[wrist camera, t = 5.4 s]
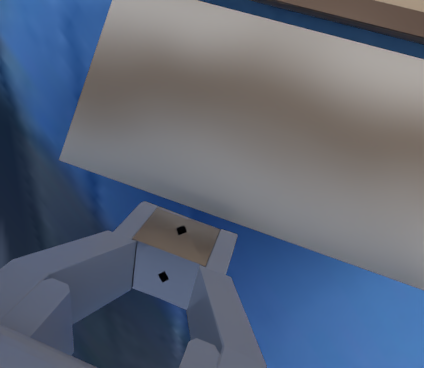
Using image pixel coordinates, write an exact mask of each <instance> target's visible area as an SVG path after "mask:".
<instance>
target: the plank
mask: <svg viewBox="0 0 424 368" xmlns="http://www.w3.org/2000/svg"><path fill="white" fill-rule="evenodd" d="M59 160H60V161H62V162H65V163H68V164H71V165H74V166H76V167H79V168H82V169H85V170H88V171H90V172H93V173H96V174H99V175H102V176H104V177H107V178H110V179H113V180H116V181H119V182H121V183H124V184H127V185H130V186H133V187H135V188H138V189H141V190H144V191H147V192H149V193H152V194H155V195H158V196H161V197H163V198H166V199H169V200H172V201H175V202H177V203H180V204H183V205H186V206H189V207H191V208H194V209H197V210H200V211H203V212H206V213H208V214H211V215H214V216H217V217H220V218H222V219H225V220H228V221H231V222H234V223H236V224H239V225H242V226H245V227H248V228H250V229H253V230H256V231H259V232H262V233H264V234H267V235H270V236H273V237H276V238H278V239H281V240H284V241H287V242H290V243H293V244H295V245H298V246H301V247H304V248H307V249H309V250H312V251H315V252H318V253H321V254H323V255H326V256H329V257H332V258H335V259H337V260H340V261H343V262H346V263H349V264H351V265H354V266H357V267H360V268H363V269H365V270H368V271H371V272H374V273H377V274H380V275H382V276H385V277H388V278H391V279H394V280H396V281H399V282H402V283H405V284H408V285H410V286H413V287H416V288H419V289H422V290H424V59H421V58H417V57H413V56H409V55H405V54H401V53H398V52H394V51H390V50H386V49H382V48H378V47H375V46H371V45H367V44H363V43H359V42H355V41H351V40H348V39H344V38H340V37H336V36H332V35H328V34H325V33H321V32H317V31H313V30H309V29H305V28H302V27H298V26H294V25H290V24H286V23H282V22H278V21H275V20H271V19H267V18H263V17H259V16H255V15H252V14H248V13H244V12H240V11H236V10H232V9H229V8H225V7H221V6H217V5H213V4H209V3H206V2H202V1H198V0H112V3H111V6H110V9H109V12H108V15H107V18H106V21H105V24H104V27H103V30H102V33H101V35H100V38H99V41H98V44H97V47H96V50H95V53H94V56H93V59H92V62H91V65H90V68H89V71H88V74H87V77H86V80H85V83H84V86H83V89H82V92H81V95H80V98H79V101H78V104H77V107H76V110H75V113H74V116H73V119H72V122H71V125H70V128H69V131H68V134H67V137H66V140H65V143H64V146H63V149H62V152H61V155H60V158H59Z"/></svg>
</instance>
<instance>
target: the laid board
mask: <svg viewBox="0 0 424 368" xmlns="http://www.w3.org/2000/svg"><path fill="white" fill-rule="evenodd" d="M251 1H254V2H258V3H262V4H266V5H270V6H274V7H278V8H282V9H286V10H290V11H294V12H298V13H302V14H306V15H310V16H314V17H317V18H321V19H325V20H329V21H333V22H337V23H341V24H345V25H349V26H353V27H357V28H361V29H365V30H369V31H373V32H376V33H380V34H384V35H388V36H392V37H396V38H400V39H404V40H408V41H412V42H416V43H420V44H424V0H251Z"/></svg>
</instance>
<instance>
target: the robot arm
mask: <svg viewBox="0 0 424 368" xmlns="http://www.w3.org/2000/svg"><path fill="white" fill-rule="evenodd" d="M237 237H238V236H237V234H235V233H232V232H229V231H226V230H223V229H219V228H216V227H213V226H210V225H208V224H205V223H202V222H199V221H196V220H193V219H191V218H188V217H186V216H183V215H180V214H178V213H175V212H173V211H170V210H167V209H165V208H162V207H159V206H156V205H154V204H151V203H149V202H146V201H144V202H141V203H140V204H139V205H138V206H137V207H136V208H135V209H134V210H133V211H132V212H131V213H130V214H129V215H128V217H127V218H126V219H125V220H124V221H123V222H122V223H121V224H120V225H119V226H118V227H117V228H116V229H115V230H114V231H113V232H111V231H104V232H101V233H98V234H95V235H91V236H88V237H85V238H81V239H78V240H75V241H72V242H68V243H65V244H62V245H59V246H55V247H52V248H49V249H45V250H42V251H39V252H36V253H32V254H29V255H26V256H23V257H19V258H16V259H13V260H11V261H10V262H9V263H8V264H6V265H5V266H4V267H2V268H1V269H0V368H97V367H95V366H93V365H91V364H88V363H86V362H84V361H82V360H80V359H77V358H75V357H73V356H71V355H72V354H73V352H74V344H73V329H72V325H73V324H74V323H76V322H78V321H79V320H81V319H83V318H84V317H86V316H88V315H90V314H91V313H93V312H95V311H96V310H98V309H100V308H101V307H103V306H105V305H106V304H108V303H110V302H111V301H113V300H115V299H116V298H118V297H120V296H121V295H123V294H125V293H126V292H128V291H130V290H131V288H133V289H135V290H138V291H141V292H144V293H146V294H149V295H152V296H154V297H157V298H160V299H162V300H164V301H167V302H169V303H171V304H173V305H176V306H178V307H180V308H183V309H185V310H187V319H188V325H189V331H190V338H191V341H189V342H188V345H187V348H186V350H185V353H184V356H183V358H182V361H181V364H180V366H179V368H266V366H267V365H266V363H265V360H264V358H263V355H262V353H261V350H260V348H259V346H258V343H257V341H256V338H255V336H254V333H253V331H252V328H251V326H250V323H249V321H248V318H247V316H246V313H245V311H244V308H243V306H242V303H241V301H240V298H239V296H238V293H237V291H236V288H235V286H234V283H233V281H232V278H231V277H229V276H227V275H226V273H227V270H228V266H229V263H230V260H231V257H232V253H233V250H234V247H235V243H236V240H237Z"/></svg>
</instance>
